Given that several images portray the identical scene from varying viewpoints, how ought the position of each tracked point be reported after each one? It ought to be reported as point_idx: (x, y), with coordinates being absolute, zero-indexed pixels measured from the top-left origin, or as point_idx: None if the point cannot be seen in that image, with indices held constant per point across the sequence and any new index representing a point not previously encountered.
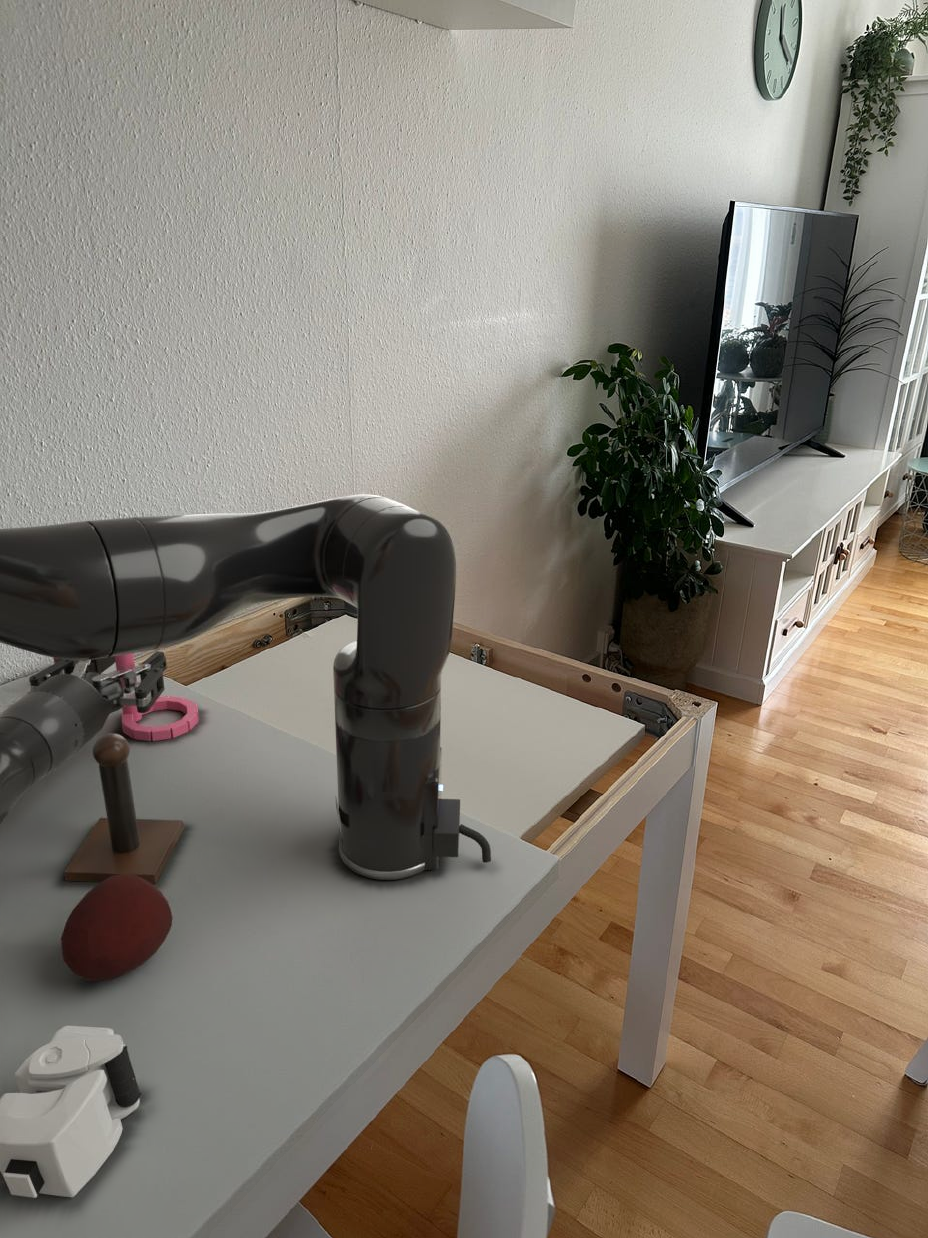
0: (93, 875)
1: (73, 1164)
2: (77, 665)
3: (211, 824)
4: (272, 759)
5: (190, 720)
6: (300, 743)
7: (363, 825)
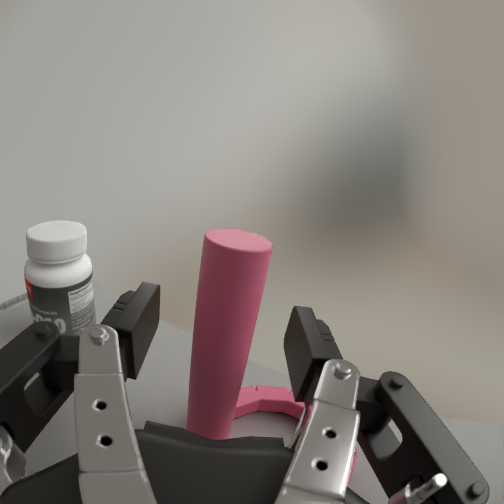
0: None
1: None
2: (84, 392)
3: None
4: (490, 460)
5: (355, 447)
6: (481, 422)
7: None
